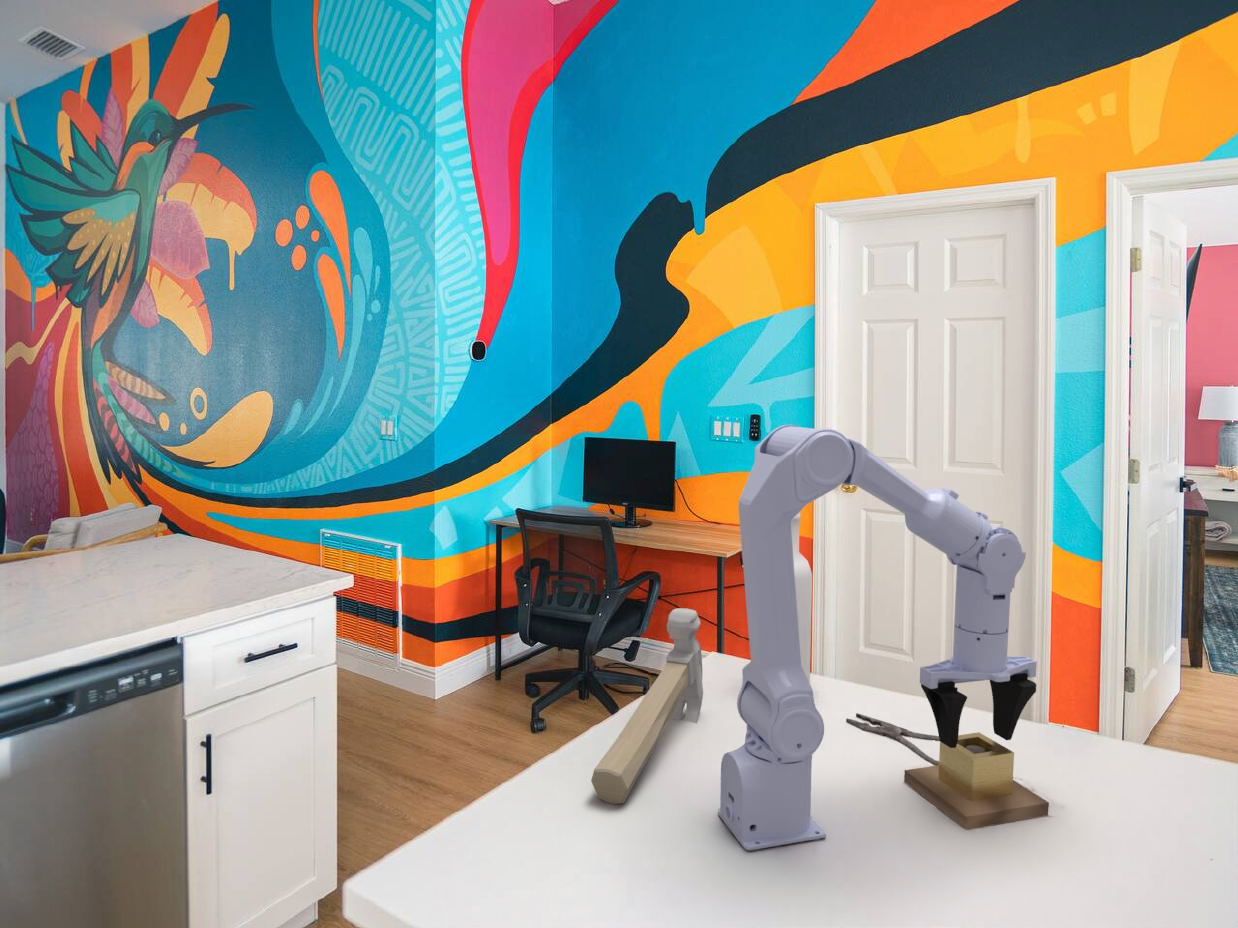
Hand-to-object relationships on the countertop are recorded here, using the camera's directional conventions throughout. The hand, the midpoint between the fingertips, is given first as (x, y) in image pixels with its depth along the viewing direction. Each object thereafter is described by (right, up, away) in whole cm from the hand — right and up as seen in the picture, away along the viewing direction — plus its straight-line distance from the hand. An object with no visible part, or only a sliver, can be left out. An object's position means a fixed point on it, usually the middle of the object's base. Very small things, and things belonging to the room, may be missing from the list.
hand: (975, 740), depth 93 cm
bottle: (-16, -4, +31) cm, 35 cm away
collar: (0, -6, 0) cm, 6 cm away
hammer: (-37, -6, +12) cm, 40 cm away
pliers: (-2, -6, +15) cm, 16 cm away
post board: (0, -7, +1) cm, 7 cm away
